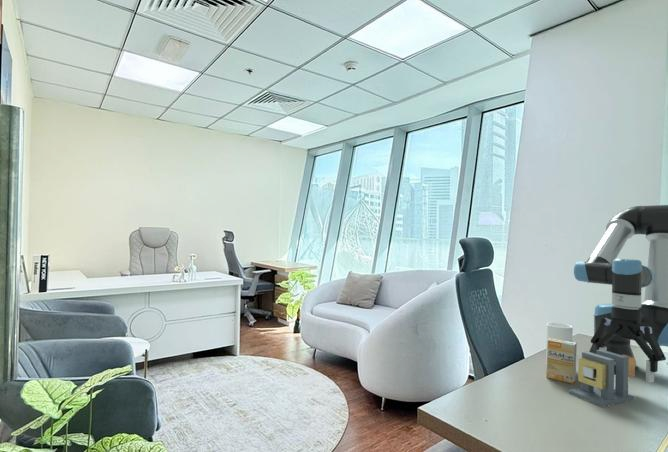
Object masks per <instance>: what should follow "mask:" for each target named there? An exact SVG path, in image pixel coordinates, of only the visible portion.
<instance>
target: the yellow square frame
mask: <svg viewBox="0 0 668 452" xmlns="http://www.w3.org/2000/svg"><path fill="white" fill-rule="evenodd" d="M583 366H587V367H590V368H593V369H596V378H595V379H592V378H589V377H586V376H583ZM577 367H578V371H577V372H578V373H577V376H578V377H577V378H578V379H577V381H578V382H579V383H581V382H583V383H585V384H588V385H591V386H593V387H596V388H599V389H602V390H603V389H606V379H607V365H606V364H602V363H599V362H596V361H593V360H589V359H586V358H582V357H578V366H577Z"/></svg>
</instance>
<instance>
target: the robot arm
mask: <svg viewBox="0 0 668 452" xmlns="http://www.w3.org/2000/svg"><path fill="white" fill-rule="evenodd" d="M635 235H645V238H646V240H648V242H649V248H648V257H647V259H648V260H647V266H646V265H643V263H642V261H641V260H639V259H634V258H633V259H631V258H618V256H619V255H620V252H621V250H622V249H623V248H624V246H625V244H626V242H627V241H628V239H631V238H632V237H633V236H635ZM573 275H574V278H575V280H577V281H579V282H584V283H588V284H589V283H591V284H602V285H609V286H610V285H611V303H599V304H597V305H595V307H594V314H593V323H594V324H593V336H592V338H591V339H590V343H591V346H590V349H589V351H588V352H591V353H594V354H596V350H605V351H608V352H612V353H616V354H619V355H627V356H631V357H635V355H634V352H633V350H632V346H631V341H634V342H635V343H636V344H637V345H638V347H639V348H640V349H641V350H642V352H643V354H645V355H646V357H647V359H646V360H645V361H646V362H645V366H646V367H645V383H648V384H649V383H650V384H651V383H655V373H657V372H658V369H659V368H658V367H659V366H658V364H659V363H658V362H662V361H666V359H667V358H666V356H665V354H664V352H663V350H662V348H661V347H668V204H661V205H660V204H659V205H657V204H656V205H637V206H631V207H629V208H625V209H623V210H621V211H619V212H618V213H617V214H615V215H614V216H612V217H611V219H610V220H609V221H608V223H606V226H605V233H604V234H603V236H602V237H601V238H600V240H599V241H598V243H597V245H596V247H595V248H594V249H593V251H592V252H591V254H590V256H589V257H588V259H587V260H586V261H584V260H583V261H577V262H576V263H575V264H574V267H573ZM643 288H645V289H644V300H643V301H642V289H643ZM636 367H637V361H636V359H635V369H636Z"/></svg>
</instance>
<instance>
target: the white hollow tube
mask: <svg viewBox="0 0 668 452" xmlns="http://www.w3.org/2000/svg"><path fill="white" fill-rule="evenodd" d="M549 338H553V339H558V340H564V341H569V342H573V325H570V324H566V323H562V322H561V323H559V322H547V323H546V344H545V345H546V350H545V351H546V355H545V357H546V358H545V367H546V368H547V344H548V339H549Z"/></svg>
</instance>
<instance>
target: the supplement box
mask: <svg viewBox="0 0 668 452" xmlns="http://www.w3.org/2000/svg"><path fill="white" fill-rule="evenodd" d="M546 345H547V367H546V373H545V374H546V377H545V378H547V379H551V380H555V381H560V382H565V383H568V384H572V385H574V383H575V382H576V377H577V376H576V374H577V373H576V372H577V371H576V370H577V345H578V343H577V342H574V341H572V342H569V341H564V340H558V339H553V338H549V339H548V344H547V343H546Z"/></svg>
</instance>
